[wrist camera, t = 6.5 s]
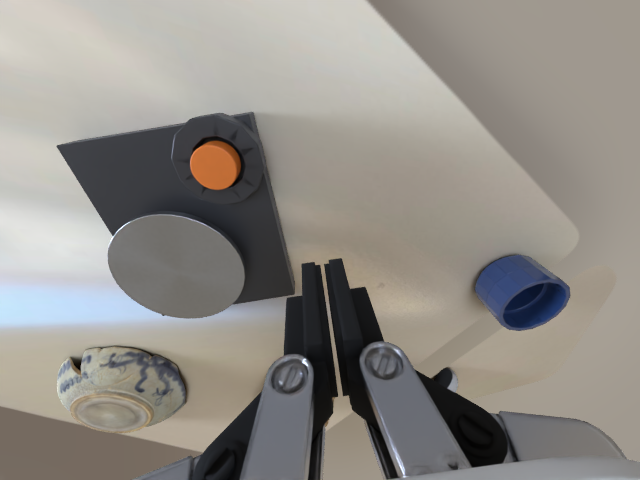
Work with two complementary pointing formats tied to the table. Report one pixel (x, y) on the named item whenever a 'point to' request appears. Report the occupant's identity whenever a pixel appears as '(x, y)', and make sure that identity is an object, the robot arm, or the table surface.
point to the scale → (190, 189)
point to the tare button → (215, 165)
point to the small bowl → (521, 292)
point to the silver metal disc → (177, 264)
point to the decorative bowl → (120, 389)
